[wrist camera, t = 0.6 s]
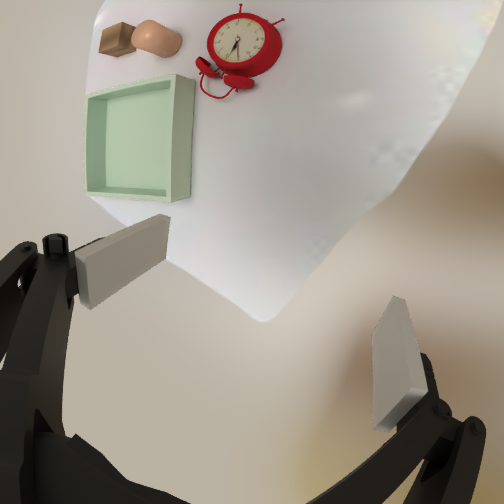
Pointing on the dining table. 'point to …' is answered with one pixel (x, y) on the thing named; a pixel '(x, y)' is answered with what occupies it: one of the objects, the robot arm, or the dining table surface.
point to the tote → (140, 140)
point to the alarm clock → (241, 49)
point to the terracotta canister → (156, 39)
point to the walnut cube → (117, 40)
